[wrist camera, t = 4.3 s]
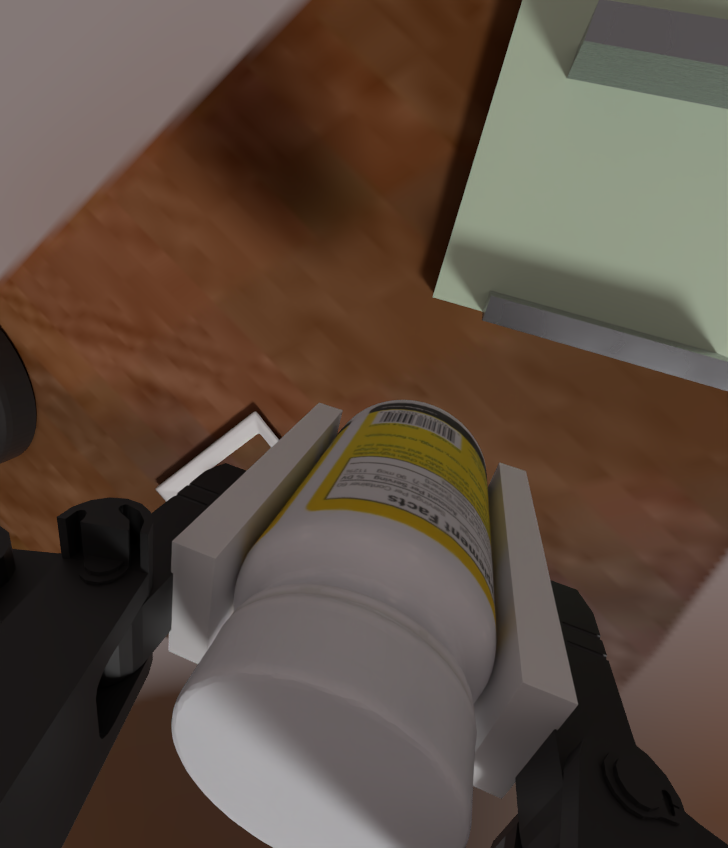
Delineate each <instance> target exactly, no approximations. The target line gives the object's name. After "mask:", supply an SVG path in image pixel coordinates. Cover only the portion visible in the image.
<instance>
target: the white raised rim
mask: <svg viewBox="0 0 728 848" xmlns="http://www.w3.org/2000/svg"><path fill="white" fill-rule="evenodd" d="M257 434H261V435H262V436H263V438H264V439H265V440H266V441H267V443H268V444H269V445H270V446H271V448H272V447H273V446H274V445H275V444H276V443H277V442H278V441H279V439H278V438H277V437H276V435H275V434H274V433H273V432H272V430H271V429H270V428H269V427H268V425H267V424H266V423H265V422H264V420H263V419H262V418H261V417H260V415H259V414H258V413H257V412H256V411H255V412H253V413H251V414H250V415H249V416H248V417H246V418H245V419H244V420H243V421H241V422H240V423H239V424H237V425H236V426H235V427H234V428H232V429H231V430H230V431H228V432H227V433H226V434H225V435H223V436H222V437H221V438H219V439H218V440H217V441H216V442H214V443H213V444H212V445H210V446H209V447H208V448H207V449H205V450H204V451H203V452H201V453H200V454H199V455H198V456H196V457H195V458H194V459H192V460H191V461H190V462H189V463H187V464H186V465H185V466H184V467H182V468H181V469H180V470H178V471H177V472H176V473H175V474H173V475H172V476H171V477H169V478H168V479H167V480H166V481H164V482H163V483H162V484H160V485H159V486H158V487H157V488H156V491H157V492H158V493H159V494H160V495H161V496H162V498H163V499H164V500H165V501H166V502H167V501H168V500H169V499H170V498H172V497H173V496H176V495H177V493H178V492H179V491H180V490H182V489H183V488H184V487H185V486H187V485H190V482H192V481H193V480H194V479H195V478H197V477H198V476H199V475H200V474H202V473H203V472H204V471H206V470H208V469H211V468H212V467H214V466H215V465H216V464H218V463H219V462H220V461H222V460H223V459H224V458H226V457H227V456H228V455H230V454H231V453H232V452H234V451H235V450H236V449H238V448H239V447H241V446H242V445H243V444H245V443H246V442H247V441H249V440H250V439H251V438H253V437H254V436H255V435H257Z"/></svg>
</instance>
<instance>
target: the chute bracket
mask: <svg viewBox="0 0 728 848" xmlns="http://www.w3.org/2000/svg"><path fill="white" fill-rule="evenodd" d="M567 78H568V79H574V80H579V81H584V82H589V83H594V84H599V85H605V86H610V87H615V88H620V89H625V90H631V91H636V92H641V93H646V94H651V95H657V96H662V97H667V98H672V99H677V100H683V101H688V102H693V103H698V104H703V105H709V106H714V107H719V108H724V109H728V20H727V19H721V18H715V17H709V16H702V15H696V14H690V13H684V12H678V11H672V10H665V9H659V8H653V7H647V6H641V5H634V4H628V3H622V2H616V1H610V0H599V1H598V3H597V5H596V8H595V10H594V12H593V14H592V17H591V19H590V21H589V23H588V26H587V28H586V30H585V32H584V35H583V37H582V39H581V41H580V44H579V46H578V49H577V51H576V54H575V57H574V60H573V63H572V65H571V68H570V71H569V74H568V76H567ZM482 320H483V321H487V322H490V323H494V324H497V325H501V326H504V327H508V328H511V329H515V330H518V331H522V332H525V333H528V334H532V335H535V336H539V337H542V338H546V339H549V340H553V341H556V342H560V343H563V344H566V345H570V346H573V347H577V348H580V349H584V350H587V351H591V352H594V353H598V354H601V355H605V356H608V357H611V358H615V359H618V360H622V361H625V362H629V363H632V364H636V365H639V366H643V367H646V368H650V369H653V370H656V371H660V372H663V373H667V374H670V375H674V376H677V377H681V378H684V379H688V380H691V381H694V382H698V383H701V384H705V385H708V386H712V387H715V388H719V389H722V390H726V391H728V357H725V356H723V355H721V354H718V353H715V352H711V351H708V350H704V349H701V348H697V347H693V346H690V345H686V344H683V343H679V342H675V341H672V340H668V339H664V338H661V337H657V336H654V335H650V334H646V333H643V332H639V331H636V330H632V329H628V328H625V327H621V326H618V325H614V324H610V323H607V322H603V321H600V320H596V319H592V318H589V317H585V316H581V315H578V314H574V313H571V312H567V311H563V310H560V309H556V308H553V307H549V306H545V305H542V304H538V303H535V302H531V301H527V300H524V299H520V298H517V297H513V296H509V295H506V294H502V293H498V292H495V291H491V290H490V292H489V295H488V298H487V301H486V303H485V306H484V309H483V314H482Z"/></svg>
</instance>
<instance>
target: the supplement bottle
mask: <svg viewBox="0 0 728 848" xmlns="http://www.w3.org/2000/svg"><path fill="white" fill-rule="evenodd" d="M233 605H234V612H233V613H232V615H231V616H230V618H229V619H228V620H227V621H226V622H225V624H224V625H223V626H222V628H221V629H220V631H219V633H218V634H217V636H216V638H215V640H214V641H213V643H212V644H211V646H210V647H209V649H208V650H207V652H206V653H205V655H204V656H203V658H202V659H201V661H200V662H199V664H198V665H197V667H196V668H195V670H194V671H193V673H192V674H191V676H190V678H189V679H188V681H187V682H186V684H185V685H184V687H183V689H182V690H181V692H180V694H179V696H178V698H177V701H176V703H175V706H174V709H173V717H172V736H173V741H174V744H175V748H176V750H177V753H178V755H179V757H180V759H181V761H182V763H183V765H184V766H185V768H186V770H187V772H188V773H189V775H190V776H191V777H192V779H193V780H194V781H195V783H196V784H197V785H198V786H199V788H200V789H201V790H202V791H203V793H204V794H205V795H206V796H207V797H208V798H209V799H210V800H211V801H212V802H213V803H214V804H215V805H216V806H217V807H218V808H219V809H220V810H222V811H223V812H224V813H225V814H226V815H227V816H228V817H229V818H230V819H232V820H233V821H234V822H236V823H237V824H238V825H240V826H241V827H243V828H244V829H245V830H247V831H248V832H249V833H251V834H252V835H254V836H255V837H257V838H258V839H260V840H261V841H263V842H264V843H266V844H268V845H270V846H272V847H274V848H465V847H466V844H467V842H468V839H469V834H470V830H471V821H472V796H473V776H474V759H475V746H476V738H477V728H476V721H475V715H474V703H475V702H476V701H477V699H478V698H479V696H480V695H481V693H482V692H483V690H484V688H485V687H486V685H487V683H488V681H489V678H490V675H491V673H492V669H493V665H494V660H495V653H496V615H495V600H494V584H493V567H492V550H491V532H490V519H489V502H488V487H487V474H486V466H485V462H484V458H483V455H482V452H481V450H480V447H479V445H478V444H477V442H476V440H475V439H474V437H473V436H472V434H471V433H470V432H469V431H468V429H467V428H466V427H465V426H464V425H463V424H462V423H461V422H459V421H458V420H457V419H456V418H455V417H453V416H452V415H450V414H449V413H447V412H446V411H444V410H442V409H440V408H438V407H435V406H433V405H430V404H427V403H423V402H418V401H412V400H394V401H387V402H383V403H379V404H376V405H373V406H371V407H369V408H366V409H365V410H363V411H362V412H360V413H358V414H357V415H356V416H354V417H353V418H352V419H351V420H350V421H349V422H348V423H347V424H346V425H345V426H344V427H343V428H342V429H341V431H340V432H339V433H338V435H337V436H336V437H335V439H334V440H333V441H332V443H331V444H330V445H329V447H328V448H327V449H326V451H325V452H324V454H323V455H322V456H321V458H320V459H319V460H318V462H317V463H316V464H315V466H314V467H313V468H312V470H311V471H310V472H309V474H308V475H307V476H306V478H305V479H304V480H303V482H302V483H301V484H300V486H299V487H298V488H297V490H296V491H295V492H294V494H293V495H292V496H291V498H290V499H289V500H288V502H287V503H286V504H285V505H284V507H283V508H282V509H281V511H280V512H279V513H278V515H277V516H276V517H275V518H274V520H273V521H272V522H271V524H270V525H269V526H268V527H267V529H266V530H265V531H264V532H263V534H262V535H261V536H260V537H259V539H258V540H257V541H256V543H255V544H254V545H253V547H252V548H251V550H250V551H249V552H248V554H247V556H246V558H245V560H244V562H243V564H242V567H241V569H240V572H239V575H238V578H237V581H236V586H235V592H234V600H233Z"/></svg>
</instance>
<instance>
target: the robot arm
mask: <svg viewBox="0 0 728 848" xmlns="http://www.w3.org/2000/svg"><path fill="white" fill-rule="evenodd" d="M342 411H343V410H340V409H337V408H334V407H331V406H328V405H325V404H322V403H318V404H317V405H316V406H315V407H314V408H313V409H312V410H311V411H310V412H309V413H308V414H307V415H306V416H304V417H303V418H302V419H301V420H300V421H299V422H298V423H297V424H296V425H295V426H294V427H293V428H292V429H291V430H290V431H289V432H288V433H286V434H285V435H284V436H283V437H282V438H281V439H280V440H279V441H278V442H277V443H276V444H275V445H274V446H273V447H272V448H271V449H269V450H268V451H267V452H266V453H265V454H264V455H263V456H262V457H261V458H260V459H259V460H258V461H257V462H256V463H255V464H254V465H253V466H251V467H250V468H249V469H248V470H247V471H246V470H243V469H240V468H237V467H235V466H232V465H229V464H227V463H225V464H222V465H219V466H217V467H214V468H211V469H208V470H206V471H204V472H203V473H202V474H200V475H199V476H198V477H197V478H195V479H194V480H193V481H192V482H190V485H189V486H188V485H187V486H185V487H184V488H183V489H182V490H180V491H179V492H178V493H177V495H176V496H173V497H172V498H170V499H169V500H168V501H167V502H165V503H164V504H163V505H162V506H160V507H159V508H158V509H157V510H155V511H154V512H153V513H152V514H151V512H150V511H149V510H148V509H147V508H146V507H145V506H143V505H142V504H141V503H138V502H135V501H132V500H129V499H122V498H103V499H97V500H90V501H87V502H85V503H82V504H79V505H76V506H74V507H71V508H70V509H68V510H67V511H65V512H64V513H62V514H61V515H59V516H58V517H57V523H58V530H59V538H60V546H61V553H62V554H60V553H48V552H38V551H27V550H17V549H12V546H11V541H10V536H9V532H7V531H6V530H5V529H3V528H2V527H1V526H0V848H61V847H62V846H63V844H64V842H65V840H66V838H67V836H68V834H69V832H70V830H71V828H72V826H73V824H74V822H75V820H76V818H77V816H78V814H79V812H80V810H81V808H82V806H83V804H84V802H85V800H86V798H87V796H88V794H89V792H90V790H91V788H92V786H93V784H94V782H95V780H96V778H97V776H98V774H99V772H100V770H101V768H102V766H103V764H104V762H105V760H106V758H107V756H108V754H109V752H110V750H111V748H112V746H113V744H114V742H115V740H116V738H117V736H118V734H119V732H120V730H121V728H122V726H123V724H124V722H125V720H126V718H127V716H128V714H129V712H130V710H131V708H132V706H133V704H134V702H135V700H136V698H137V696H138V694H139V692H140V690H141V688H142V686H143V684H144V682H145V680H146V678H147V676H148V674H149V670H150V667H151V664H152V660H153V659H152V658H153V657H152V654H153V651H154V650H155V649H156V648H157V647H158V645H159V644H160V643H161V642H162V640H163V639H164V638H165V637H166V636H167V634H168V633H169V651H170V652H172V653H174V654H176V655H179V656H181V657H183V658H185V659H188V660H190V661H192V662H195V663H197V664H199V662H200V661H201V659H202V658H203V656H204V655H205V653H206V652H207V650H208V649H209V647H210V646H211V644H212V643H213V641H214V640H215V638H216V636H217V634H218V633H219V631H220V629H221V628H222V626H223V625H224V624H225V622H226V621H227V620H228V619H229V618H230V616H231V615H232V613H233V612H234V605H233V600H234V592H235V586H236V581H237V578H238V575H239V572H240V569H241V567H242V564H243V562H244V560H245V558H246V556H247V554H248V552H249V551H250V550H251V548H252V547H253V545H254V544H255V543H256V541H257V540H258V539H259V537H260V536H261V535H262V534H263V532H264V531H265V530H266V529H267V527H268V526H269V525H270V524H271V522H272V521H273V520H274V518H275V517H276V516H277V515H278V513H279V512H280V511H281V509H282V508H283V507H284V505H285V504H286V503H287V502H288V500H289V499H290V498H291V496H292V495H293V494H294V492H295V491H296V490H297V488H298V487H299V486H300V484H301V483H302V482H303V480H304V479H305V478H306V476H307V475H308V474H309V472H310V471H311V470H312V468H313V467H314V466H315V464H316V463H317V462H318V460H319V459H320V458H321V456H322V455H323V454H324V452H325V451H326V449H327V448H328V447H329V445H330V444H331V443H332V441H333V440H334V439H335V437H336V436H337V432H338V428H339V424H340V419H341V415H342ZM35 428H36V406H35V400H34V395H33V391H32V388H31V384H30V382H29V379H28V376H27V374H26V371H25V369H24V367H23V365H22V363H21V361H20V359H19V357H18V355H17V353H16V351H15V350H14V348H13V347H12V345H11V343H10V342H9V340H8V339H7V337H6V336H5V335H4V333H3V332H2V331H1V329H0V463H3V462H5V461H7V460H10V459H12V458H14V457H17V456H19V455H20V454H22V453H23V452H24V451H25V450H26V449H27V448H28V447H29V445H30V443H31V441H32V439H33V436H34V433H35ZM488 502H489V519H490V532H491V550H492V567H493V584H494V600H495V615H496V653H495V660H494V665H493V669H492V673H491V675H490V678H489V681H488V683H487V685H486V687H485V688H484V690H483V692H482V693H481V695H480V696H479V698H478V699H477V701H476V702H475V703H474V715H475V721H476V728H477V738H476V746H475V759H474V776H473V786H474V787H476V788H479V789H481V790H483V791H485V792H488V793H490V794H492V795H494V796H497V797H499V798H501V799H502V798H503V797H504V796H505V794H506V793H507V792H508V791H509V789H510V788H511V787H512V786H513V784H514V783H515V782H516V792H517V806H518V814H517V815H516V816H515V817H514V818H513V819H512V821H511V822H510V823H509V824H508V825H507V826H506V827H505V829H504V830H503V831H502V832H501V833H500V834H499V835H498V836H497V838H496V839H495V840H494V841H493V843H492V846H491V848H728V845H727V844H726V843H725V842H723V841H722V840H721V839H719V838H718V837H716V836H715V835H714V834H712V833H711V832H710V831H708V830H707V829H705V828H704V827H703V826H702V825H700V824H699V823H698V822H696V821H695V820H694V819H693V818H692V817H690V816H689V815H688V814H687V813H686V812H685V811H684V808H683V805H682V802H681V799H680V798H679V796H678V794H677V793H676V791H675V790H674V788H673V786H672V785H671V783H670V781H669V780H668V778H667V776H666V775H665V774H664V773H663V772H662V770H661V769H660V768H659V767H658V766H657V765H656V764H655V762H654V761H653V760H652V759H651V758H650V757H649V756H648V755H647V754H646V753H645V752H644V751H642V750H641V749H640V748H638V747H637V746H636V744H635V741H634V738H633V735H632V732H631V729H630V726H629V723H628V720H627V716H626V713H625V710H624V707H623V704H622V701H621V698H620V695H619V692H618V689H617V686H616V682H615V679H614V676H613V673H612V670H611V667H610V664H609V661H608V660H606V656H607V655H606V651H605V648H604V645H603V642H602V640H600V633H599V630H598V627H597V624H596V621H595V617H594V614H593V612H592V611H591V609H590V608H589V606H588V605H587V604H586V602H585V601H584V599H583V598H582V596H581V595H580V594H579V592H578V591H577V590H576V589H573V588H570V587H567V586H565V585H562V584H559V583H557V582H554V581H551V580H550V577H549V572H548V568H547V563H546V559H545V555H544V550H543V546H542V541H541V537H540V532H539V528H538V523H537V519H536V514H535V510H534V506H533V501H532V497H531V492H530V488H529V483H528V479H527V474H526V471H523V470H520V469H517V468H514V467H511V466H508V465H505V464H502V463H499V464H498V467H497V469H496V471H495V473H494V475H493V478H492V480H491V482H490V484H489V486H488Z"/></svg>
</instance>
